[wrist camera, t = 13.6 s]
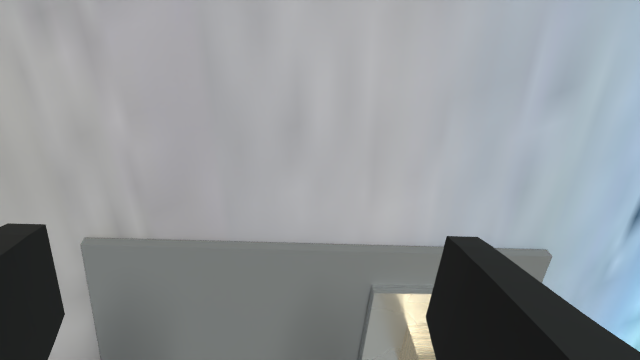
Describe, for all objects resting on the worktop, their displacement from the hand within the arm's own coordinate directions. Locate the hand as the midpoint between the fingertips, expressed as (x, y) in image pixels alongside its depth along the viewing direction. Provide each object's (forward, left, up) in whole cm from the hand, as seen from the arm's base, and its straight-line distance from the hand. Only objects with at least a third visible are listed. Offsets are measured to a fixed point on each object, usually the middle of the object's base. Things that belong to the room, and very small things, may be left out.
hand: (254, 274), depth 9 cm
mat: (+3, -16, -9) cm, 19 cm away
